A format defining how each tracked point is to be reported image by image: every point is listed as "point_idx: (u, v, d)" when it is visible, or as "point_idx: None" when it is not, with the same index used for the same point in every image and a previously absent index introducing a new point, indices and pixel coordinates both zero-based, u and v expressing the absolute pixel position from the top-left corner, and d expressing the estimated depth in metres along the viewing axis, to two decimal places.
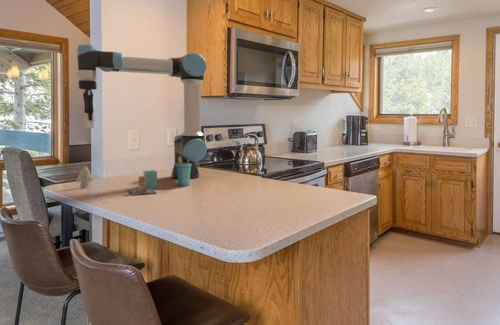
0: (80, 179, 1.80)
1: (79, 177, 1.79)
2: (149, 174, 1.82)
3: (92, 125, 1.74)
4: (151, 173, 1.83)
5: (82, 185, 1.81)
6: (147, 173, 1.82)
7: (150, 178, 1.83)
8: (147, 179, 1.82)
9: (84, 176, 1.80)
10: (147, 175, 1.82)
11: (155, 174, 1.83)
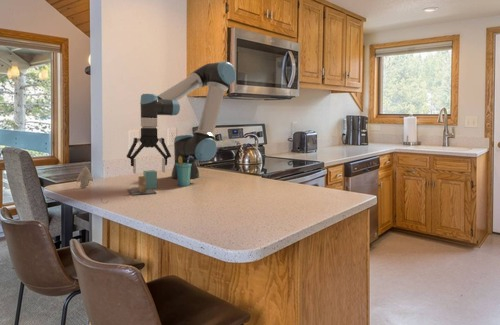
0: (80, 179, 1.80)
1: (79, 177, 1.79)
2: (149, 174, 1.82)
3: (133, 171, 1.80)
4: (151, 173, 1.83)
5: (82, 185, 1.81)
6: (147, 173, 1.82)
7: (150, 178, 1.83)
8: (147, 179, 1.82)
9: (84, 176, 1.81)
10: (147, 175, 1.82)
11: (155, 174, 1.83)
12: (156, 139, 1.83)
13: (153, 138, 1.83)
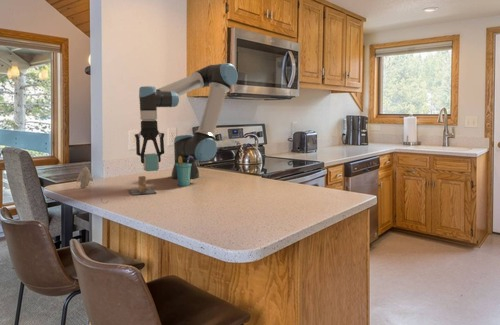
0: (80, 179, 1.80)
1: (79, 177, 1.79)
2: (150, 157, 1.82)
3: (144, 168, 1.83)
4: (152, 156, 1.82)
5: (82, 185, 1.81)
6: (147, 156, 1.81)
7: (151, 161, 1.82)
8: (148, 162, 1.81)
9: (84, 176, 1.80)
10: (148, 158, 1.81)
11: (156, 157, 1.83)
12: (157, 132, 1.83)
13: (154, 130, 1.82)
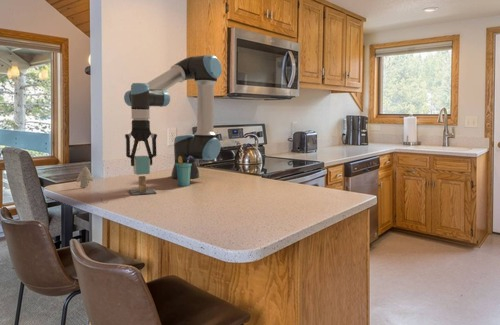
0: (80, 179, 1.80)
1: (79, 177, 1.79)
2: (140, 159, 1.68)
3: (134, 171, 1.69)
4: (142, 158, 1.68)
5: (82, 185, 1.81)
6: (138, 158, 1.67)
7: (141, 164, 1.68)
8: (138, 165, 1.68)
9: (84, 176, 1.80)
10: (138, 160, 1.67)
11: (147, 159, 1.69)
12: (149, 132, 1.70)
13: (146, 130, 1.69)
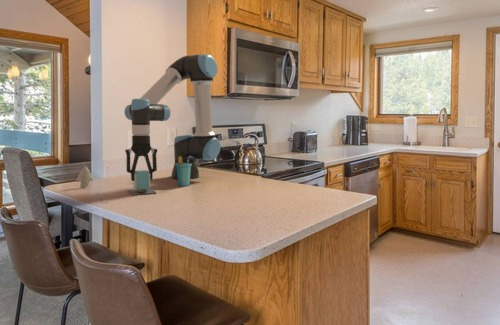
0: (80, 179, 1.80)
1: (79, 177, 1.79)
2: (140, 174, 1.69)
3: (134, 186, 1.70)
4: (143, 173, 1.69)
5: (82, 185, 1.81)
6: (138, 173, 1.68)
7: (142, 179, 1.69)
8: (138, 180, 1.68)
9: (84, 176, 1.80)
10: (138, 175, 1.68)
11: (147, 174, 1.70)
12: (149, 147, 1.70)
13: (146, 145, 1.70)
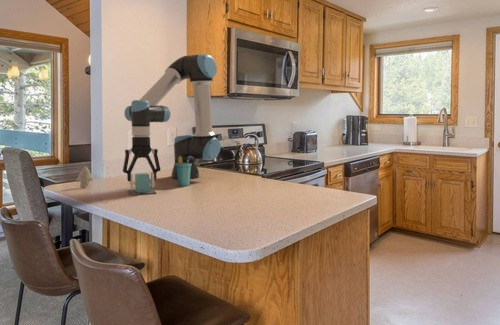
0: (80, 179, 1.80)
1: (79, 177, 1.79)
2: (141, 177, 1.69)
3: (130, 186, 1.69)
4: (143, 176, 1.69)
5: (82, 185, 1.81)
6: (139, 176, 1.68)
7: (142, 182, 1.69)
8: (139, 183, 1.69)
9: (84, 176, 1.80)
10: (139, 178, 1.68)
11: (147, 177, 1.70)
12: (149, 149, 1.70)
13: (146, 147, 1.70)
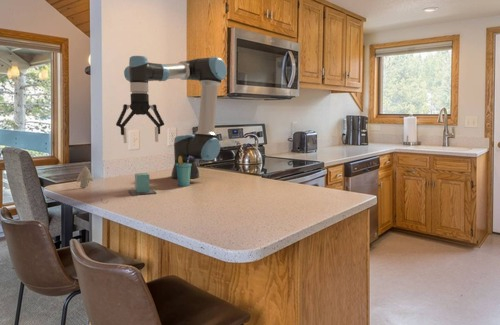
0: (80, 179, 1.80)
1: (79, 177, 1.79)
2: (141, 177, 1.69)
3: (124, 140, 1.67)
4: (143, 176, 1.69)
5: (82, 185, 1.81)
6: (139, 176, 1.68)
7: (142, 182, 1.69)
8: (139, 183, 1.69)
9: (84, 176, 1.80)
10: (139, 178, 1.68)
11: (147, 177, 1.70)
12: (147, 106, 1.70)
13: (144, 104, 1.69)
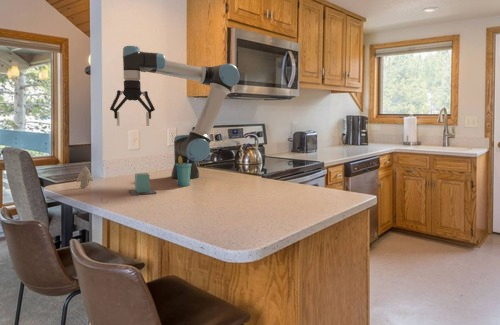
0: (80, 179, 1.80)
1: (79, 177, 1.79)
2: (141, 177, 1.69)
3: (117, 123, 1.82)
4: (143, 176, 1.69)
5: (82, 185, 1.81)
6: (139, 176, 1.68)
7: (142, 182, 1.69)
8: (139, 183, 1.69)
9: (84, 176, 1.80)
10: (139, 178, 1.68)
11: (147, 177, 1.70)
12: (139, 92, 1.84)
13: (136, 91, 1.84)
